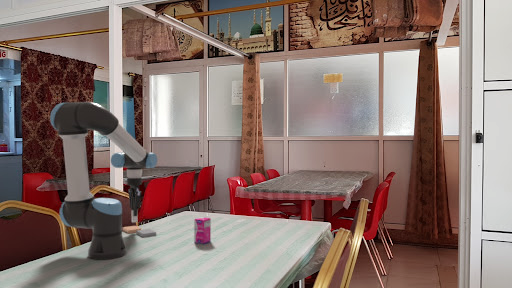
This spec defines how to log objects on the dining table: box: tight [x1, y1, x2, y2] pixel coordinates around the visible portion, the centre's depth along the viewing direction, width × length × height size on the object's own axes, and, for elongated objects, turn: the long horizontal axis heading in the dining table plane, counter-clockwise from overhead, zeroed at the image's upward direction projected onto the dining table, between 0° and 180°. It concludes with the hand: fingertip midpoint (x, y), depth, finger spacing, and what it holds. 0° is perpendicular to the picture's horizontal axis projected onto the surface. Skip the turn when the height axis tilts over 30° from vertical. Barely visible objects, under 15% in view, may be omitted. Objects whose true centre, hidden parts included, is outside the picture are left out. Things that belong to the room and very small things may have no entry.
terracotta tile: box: [122, 225, 142, 234], centre depth 211 cm, size 7×2×9 cm
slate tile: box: [136, 228, 157, 238], centre depth 203 cm, size 7×2×9 cm
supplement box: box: [193, 216, 212, 245], centre depth 188 cm, size 6×6×12 cm
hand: (134, 221), depth 208 cm, fingers closed
